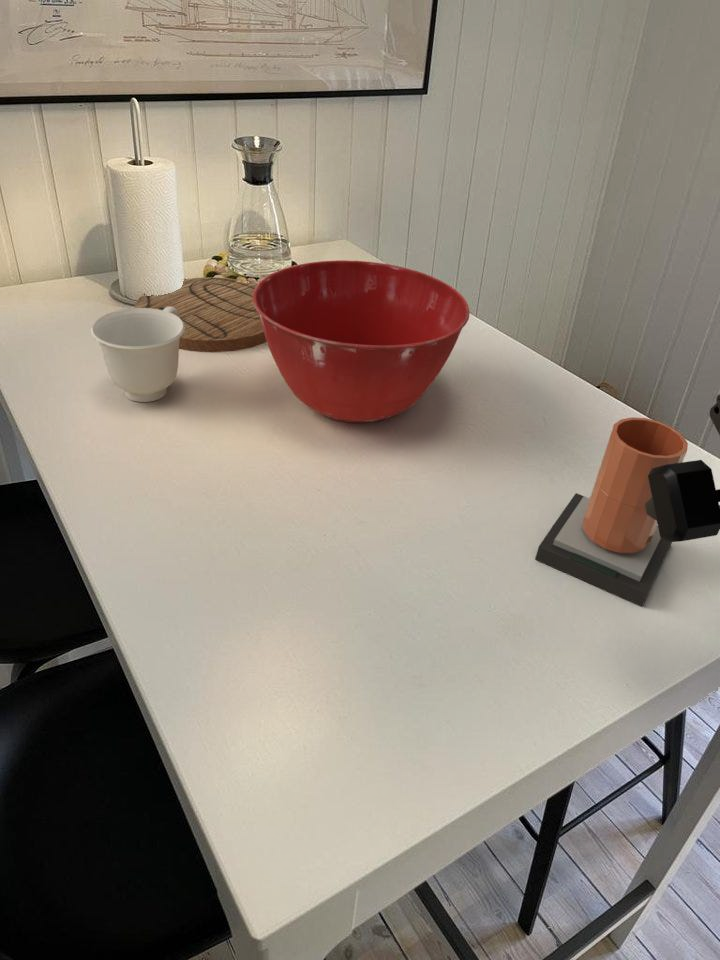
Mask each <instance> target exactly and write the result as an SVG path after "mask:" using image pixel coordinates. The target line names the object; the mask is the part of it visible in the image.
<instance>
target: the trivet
mask: <svg viewBox="0 0 720 960" xmlns="http://www.w3.org/2000/svg"><path fill="white" fill-rule="evenodd" d="M183 280H184V281H183V285H182V287H181V288H180V289H178V290H176V291H174V292H172V293H168V294H164V295H158V296H157V295H156V296H154V295H151V296H147V295H146V296H145V295H144V296H143V294H142V295H141V296H140V297H138V299H137V301H136V303H135V304H134V308H151V309H158V310H164V309H165V308H166V307H174V308H175V309H177V311H178V313H179V317H180V319H181V320H182V321H183V323H184V325H185V330H184V332H183V334H182V335H181V336H180V341H179V350H185V351H186V350H187V351H189V352H210V353H214V352H216V353H217V352H231V351H238V350H243V349H247V348H253V347H255V346H259V345H261V344H264V343H267V341H266V338H265V335H264V332H263V328H262V325H261V321H260V318H259V314H258V311H257V310H256V308H255V306H254V303H253V292H254V290H255V288H256V286H257V285H258V284H259V283H255V282H253V281H249V283H248V282H247V283H241V282H236V281H237V280H238V279H237V278H230V277H213V276H211V277H209V276H208V277H192V278H184V279H183Z"/></svg>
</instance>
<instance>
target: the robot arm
mask: <svg viewBox="0 0 720 960" xmlns="http://www.w3.org/2000/svg"><path fill="white" fill-rule="evenodd" d="M715 401H716V403H714V404H713V405H712V406H711V408H709V409H710V410H709V418H710V420H711V421H712V424H713V426H714V428H715V429H716V432H717V433H718V435H719V436H720V394H718V395H716V399H715ZM712 469H713V468H711V467H710V466H709V465H707V464H706V462H704V461H703V460H702V459H697V460H691V461H689V460H688V461H683V462H681V463H674V464H667V465H663V466H659V467H655V468H652V469H651V471H650V473H649V475H648V479H649V484H650V489H651V494H652V498H651V499H649V500H648V501H647V502H646V503H645V508H646V513H647V515H649V516H650V517H652V518H653V519H655V520H656V521H657V525H658V529H659V534H660V537H661V538H662V539H663V540H664V541H666V542H667V543H670V542H672V543H678V542H679V543H680V542H686V541H691V540H692V541H693V540H697V539H698V540H699V539H703V538H710V537H716V536H718V534H719V532H720V488H719V489H718V488H716V485H715V478H714V475H713V470H712Z"/></svg>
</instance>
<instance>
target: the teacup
mask: <svg viewBox="0 0 720 960" xmlns="http://www.w3.org/2000/svg"><path fill="white" fill-rule="evenodd" d="M184 330H185V325H184V323H183V321H182V320H181V319H180V317H179V313H178V311H177V309H175V308H174V307H166V308H165V309H164V310H158V309H151V308H135V307H134V308H124V309H119V310H116V311H112V312H109V313H106V314H104V315H102V316H101V317H99V318H98V319H97V320H95V322H93V324H92V326H91V328H90V333H91V336H92V338H94V340H96V341H97V342H98V345H99V347H100V350H101V353H102V357H103V360H104V364H105V367H106V370H107V374H108V376H109V378H110V380H111V382H112V383H113V384H114V385H115V386H116V387H117V388H119V389H120V390H122V391H123V392H124V395H125V397H126V398H127V399H129V400H131V401H134V402H139V403H150V402H154V401H157V400H160V399H162V398H163V397H165V395H166V394H167V391H168V390H167V388H168V387H169V386H171V385H172V383H173V382H174V381H175V379H176V376H177V373H178V367H179V356H180V355H179V352H180V349H179V341H180V336H181V335H182V334H183V332H184Z"/></svg>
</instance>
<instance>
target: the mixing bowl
mask: <svg viewBox="0 0 720 960" xmlns="http://www.w3.org/2000/svg"><path fill="white" fill-rule="evenodd" d="M257 284H258V285H257V286H256V288H255V290H254V292H253V303H254V306H255V308H256V310H257V311H258V314H259V318H260V321H261V325H262V328H263V332H264V335H265V338H266V341H267V342H266V344H267V346H268V348H269V351H270V354H271V356H272V359H273V361H274V362H275V365H276V367H277V369H278V371H279V372H280V375H281V376H282V378H283V381H284V382H285V383H286V385H287V386H288V388H289V389H290V391H291V393H292V394H293V395H294V396H295V397H296V398H297V400H299V401H300V402H301V403H302V404H304V405H305V406H307V407H308V408H309V409H311V410H313V411H315V412H316V413H319V414H321V415H322V416H325V417H326V418H329V419H332V420H335V421H339V422H345V423H355V424H359V423H360V424H362V423H363V424H365V423H373V422H379V421H382V420H384V419H387V418H390V417H391V418H392V417H394V416H396V415H398V414H401V413H403V412H404V411H407V409H409V408H410V407H412V406H414V405H415V403H417V402H418V401H419V399H420V398H421V397H422V396H423V395H424V394H425V392H426V391H427V390H428V389H429V388H430V387H431V385H432V384H433V382H434V381H435V380H436V378H437V377H438V376H439V374H440V372H441V371H442V369H443V367H444V366H445V365H446V363H447V361H448V359H449V357H450V355H451V353H452V351H453V349H454V348H455V346H456V344H457V341H458V339H459V338H460V337H459V336H460V334H461V332H462V330H463V328H464V327H465V326H466V324H467V323H468V321H469V320H470V307H469V305H468V303H467V301H466V299H465V297H464V296H463V295H462V294H461V293H460V292H459V291H458V290H456V289H455V288H454V287H452V286H451V285H449V284H448V283H446V282H444V281H442V280H441V279H439V278H437V277H434V276H431V275H429V274H426V273H424V272H421V271H418V270H415V269H411V268H407V267H403V266H398V265H394V264H389V263H381V262H375V261H366V260H365V261H364V260H346V259H345V260H344V259H343V260H342V259H340V260H339V259H338V260H321V261H313V262H306V263H302V264H296V265H292V266H288V267H285V268H281V269H279V270H277V271H275V272H273V273H270V274H269V275H267V276H265V277H264V278H263V279H261V281H259V283H257Z"/></svg>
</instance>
